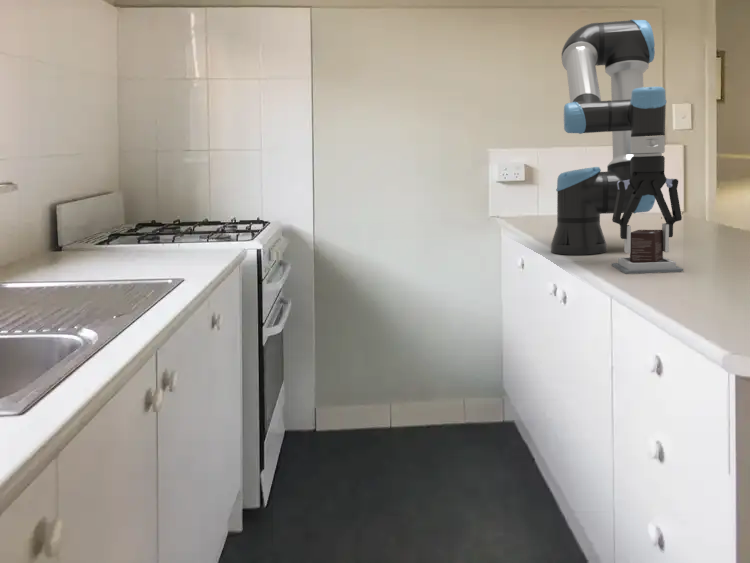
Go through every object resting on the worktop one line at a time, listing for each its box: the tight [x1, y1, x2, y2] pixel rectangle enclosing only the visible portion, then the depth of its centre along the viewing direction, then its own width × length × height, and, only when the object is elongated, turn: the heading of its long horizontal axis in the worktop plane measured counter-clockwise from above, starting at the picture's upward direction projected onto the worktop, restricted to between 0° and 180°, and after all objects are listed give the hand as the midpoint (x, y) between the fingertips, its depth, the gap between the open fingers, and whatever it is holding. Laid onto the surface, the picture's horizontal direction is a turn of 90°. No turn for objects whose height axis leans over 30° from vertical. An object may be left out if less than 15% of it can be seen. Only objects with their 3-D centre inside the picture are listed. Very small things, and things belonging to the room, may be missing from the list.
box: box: [629, 229, 664, 263], centre depth 182 cm, size 6×6×7 cm
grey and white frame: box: [611, 256, 684, 275], centre depth 182 cm, size 13×13×2 cm
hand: (646, 251), depth 182 cm, fingers closed on box, 8 cm apart
